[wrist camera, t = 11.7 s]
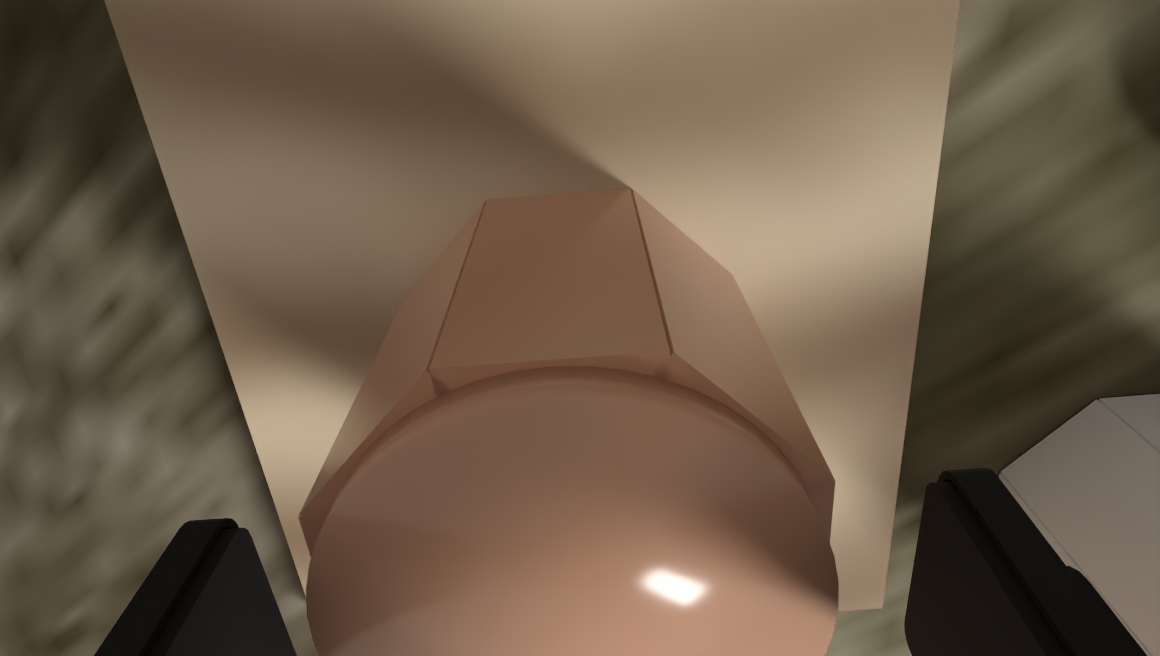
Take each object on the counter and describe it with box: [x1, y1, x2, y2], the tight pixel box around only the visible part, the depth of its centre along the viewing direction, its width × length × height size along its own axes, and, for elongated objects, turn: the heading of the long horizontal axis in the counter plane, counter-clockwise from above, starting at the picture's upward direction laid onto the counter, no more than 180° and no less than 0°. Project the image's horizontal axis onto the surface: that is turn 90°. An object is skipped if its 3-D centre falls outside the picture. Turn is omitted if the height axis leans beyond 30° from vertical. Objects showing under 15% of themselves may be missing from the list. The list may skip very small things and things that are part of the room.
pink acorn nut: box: [298, 188, 839, 656], centre depth 14 cm, size 7×7×8 cm
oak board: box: [104, 0, 960, 611], centre depth 18 cm, size 18×16×1 cm
